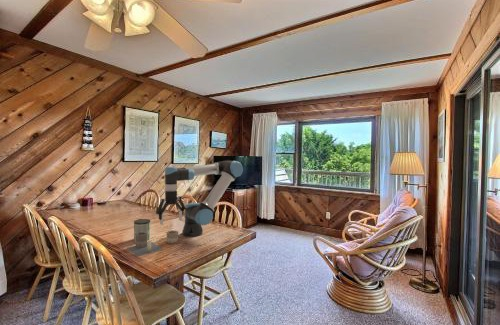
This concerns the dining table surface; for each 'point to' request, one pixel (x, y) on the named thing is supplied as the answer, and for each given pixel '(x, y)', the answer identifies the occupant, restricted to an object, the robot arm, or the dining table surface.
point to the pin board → (145, 249)
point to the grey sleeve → (141, 240)
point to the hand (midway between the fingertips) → (171, 222)
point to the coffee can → (142, 227)
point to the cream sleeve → (172, 237)
